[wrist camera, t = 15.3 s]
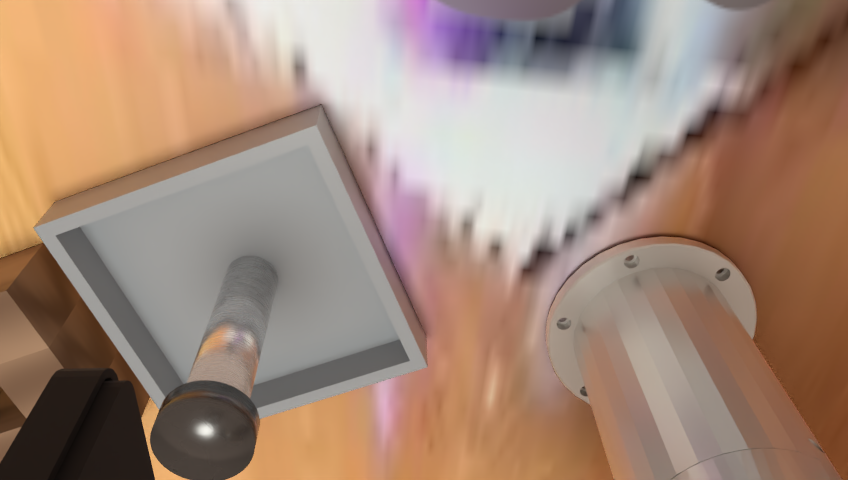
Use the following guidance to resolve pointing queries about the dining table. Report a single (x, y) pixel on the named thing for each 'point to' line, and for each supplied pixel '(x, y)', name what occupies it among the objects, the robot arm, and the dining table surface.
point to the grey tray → (233, 238)
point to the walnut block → (45, 336)
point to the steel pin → (220, 382)
